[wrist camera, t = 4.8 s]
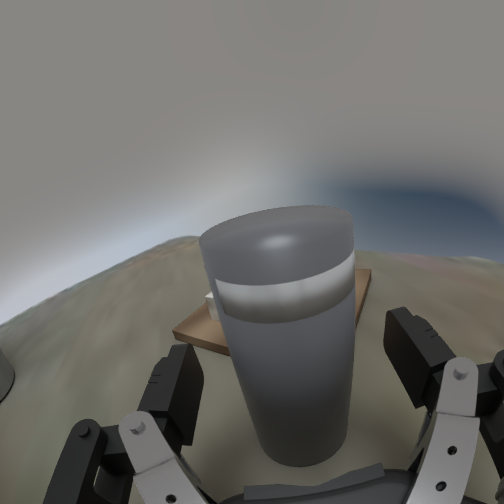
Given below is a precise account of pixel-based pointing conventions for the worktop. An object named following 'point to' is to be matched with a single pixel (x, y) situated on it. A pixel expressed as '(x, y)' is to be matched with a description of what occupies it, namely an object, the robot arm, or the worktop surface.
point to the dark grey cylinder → (288, 323)
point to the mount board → (210, 330)
